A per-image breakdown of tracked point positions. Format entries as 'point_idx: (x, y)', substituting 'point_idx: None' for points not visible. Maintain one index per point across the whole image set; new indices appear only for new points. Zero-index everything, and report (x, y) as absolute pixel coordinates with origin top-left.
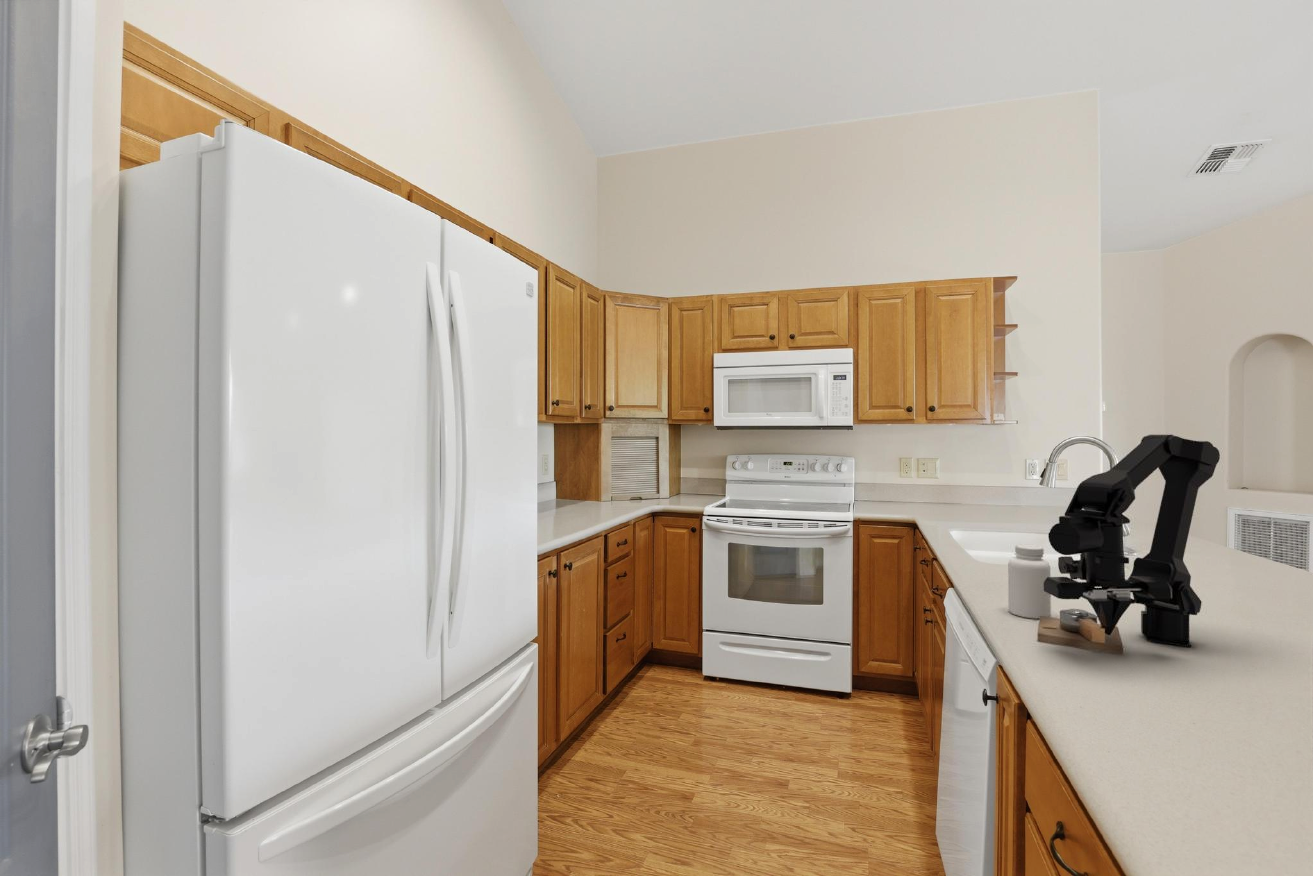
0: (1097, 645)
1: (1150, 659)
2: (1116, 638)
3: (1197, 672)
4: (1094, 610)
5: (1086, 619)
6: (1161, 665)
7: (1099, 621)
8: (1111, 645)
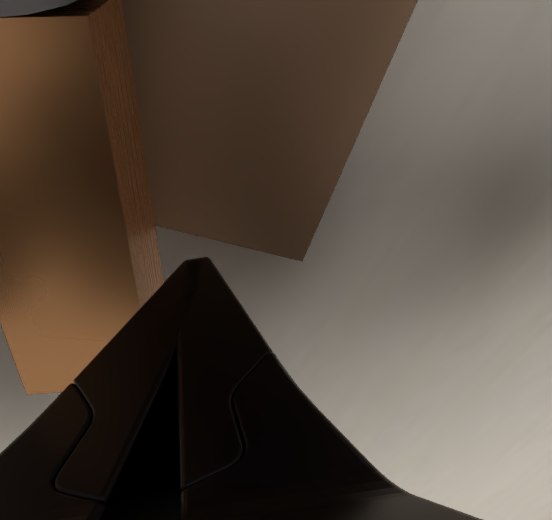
0: None
1: (428, 260)
2: (359, 39)
3: (539, 377)
4: (21, 442)
5: (10, 47)
6: (425, 337)
7: (124, 329)
8: (228, 237)
